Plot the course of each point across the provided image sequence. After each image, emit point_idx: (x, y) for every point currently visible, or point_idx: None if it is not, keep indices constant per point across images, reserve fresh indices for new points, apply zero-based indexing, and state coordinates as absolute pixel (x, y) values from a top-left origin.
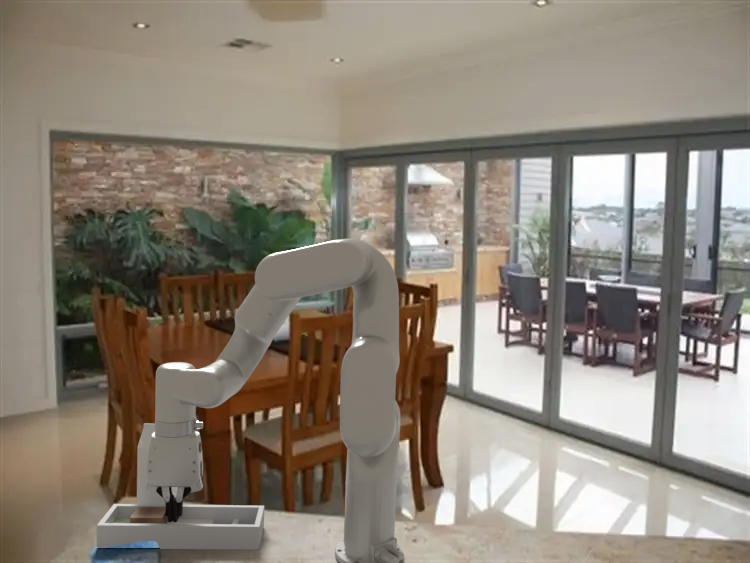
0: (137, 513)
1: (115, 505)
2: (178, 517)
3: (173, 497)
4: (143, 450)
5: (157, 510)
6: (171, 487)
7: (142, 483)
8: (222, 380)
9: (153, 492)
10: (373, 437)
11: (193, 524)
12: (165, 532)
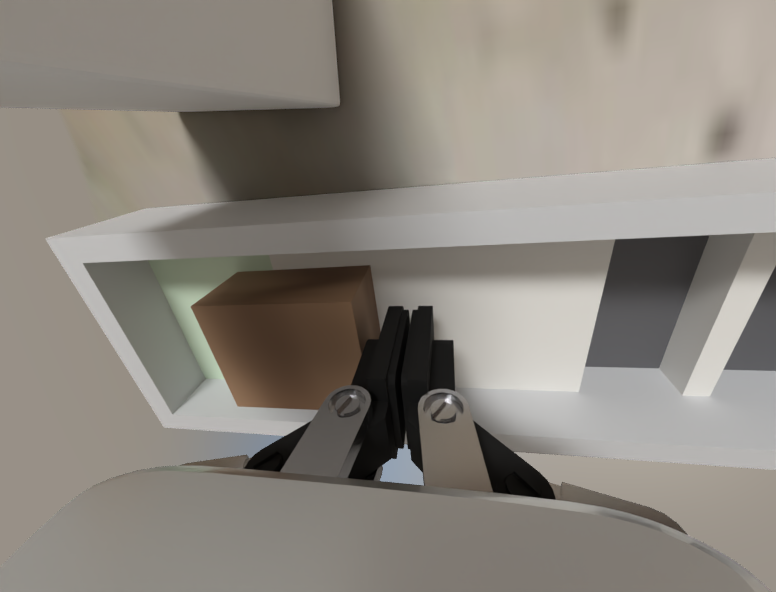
0: (240, 371)
1: (70, 258)
2: (433, 335)
3: (387, 412)
4: None
5: (314, 342)
6: (349, 467)
7: None
8: None
9: (135, 105)
10: None
11: (533, 441)
12: None
